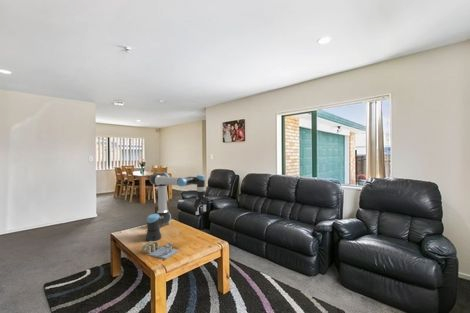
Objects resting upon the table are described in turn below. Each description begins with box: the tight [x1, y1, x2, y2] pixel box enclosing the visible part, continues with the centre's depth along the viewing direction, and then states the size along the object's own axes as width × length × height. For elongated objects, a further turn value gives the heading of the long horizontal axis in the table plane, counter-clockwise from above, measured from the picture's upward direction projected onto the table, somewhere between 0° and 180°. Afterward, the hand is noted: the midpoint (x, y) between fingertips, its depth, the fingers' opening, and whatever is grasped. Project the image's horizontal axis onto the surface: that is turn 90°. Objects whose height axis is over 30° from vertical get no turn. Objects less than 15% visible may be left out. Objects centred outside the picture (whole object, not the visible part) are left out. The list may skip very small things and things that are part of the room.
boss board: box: [148, 241, 180, 260], centre depth 194 cm, size 18×16×8 cm
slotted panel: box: [141, 241, 160, 255], centre depth 200 cm, size 9×10×6 cm
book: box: [154, 203, 170, 229], centre depth 269 cm, size 16×6×25 cm, turn 148°
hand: (200, 213), depth 220 cm, fingers open, 13 cm apart
